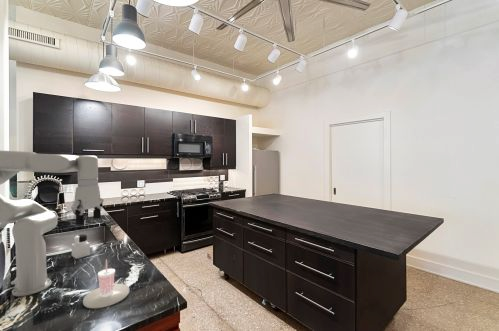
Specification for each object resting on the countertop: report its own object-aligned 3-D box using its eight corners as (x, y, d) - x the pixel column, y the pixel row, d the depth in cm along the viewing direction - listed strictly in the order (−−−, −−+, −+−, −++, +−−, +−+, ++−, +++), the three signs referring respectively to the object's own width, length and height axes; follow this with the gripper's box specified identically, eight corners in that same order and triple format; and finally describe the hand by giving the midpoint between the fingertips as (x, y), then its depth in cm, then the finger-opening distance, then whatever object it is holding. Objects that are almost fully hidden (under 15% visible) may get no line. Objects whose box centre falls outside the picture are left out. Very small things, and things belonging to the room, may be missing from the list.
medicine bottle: (85, 252, 142) (85, 232, 142) (90, 254, 138) (90, 234, 138) (71, 256, 137) (71, 235, 136) (76, 259, 132) (75, 238, 132)
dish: (72, 308, 88) (72, 305, 88) (103, 285, 104) (103, 282, 104) (112, 310, 86) (112, 307, 86) (137, 287, 102) (137, 284, 102)
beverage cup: (110, 288, 100) (110, 255, 99) (118, 292, 96) (118, 258, 96) (94, 295, 94) (94, 260, 94) (103, 299, 91) (102, 264, 91)
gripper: (95, 181, 114) (95, 216, 114) (63, 185, 97) (64, 226, 97) (109, 181, 113) (110, 216, 113) (80, 185, 96) (81, 226, 96)
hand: (88, 221), depth 105 cm, fingers open, 9 cm apart
